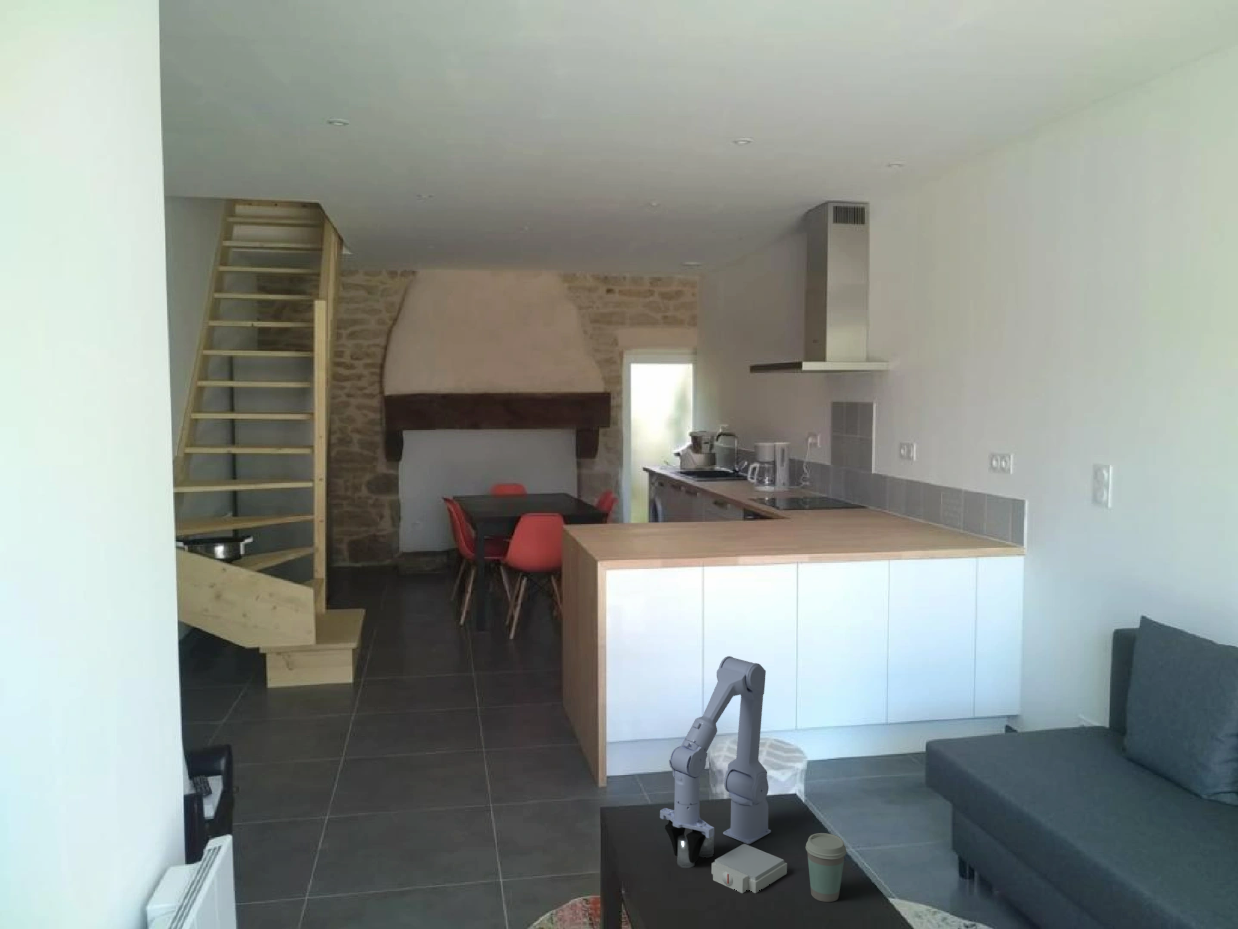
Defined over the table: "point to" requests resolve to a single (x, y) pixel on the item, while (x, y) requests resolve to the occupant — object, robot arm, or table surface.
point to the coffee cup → (825, 865)
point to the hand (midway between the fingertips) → (686, 857)
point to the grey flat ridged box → (748, 869)
